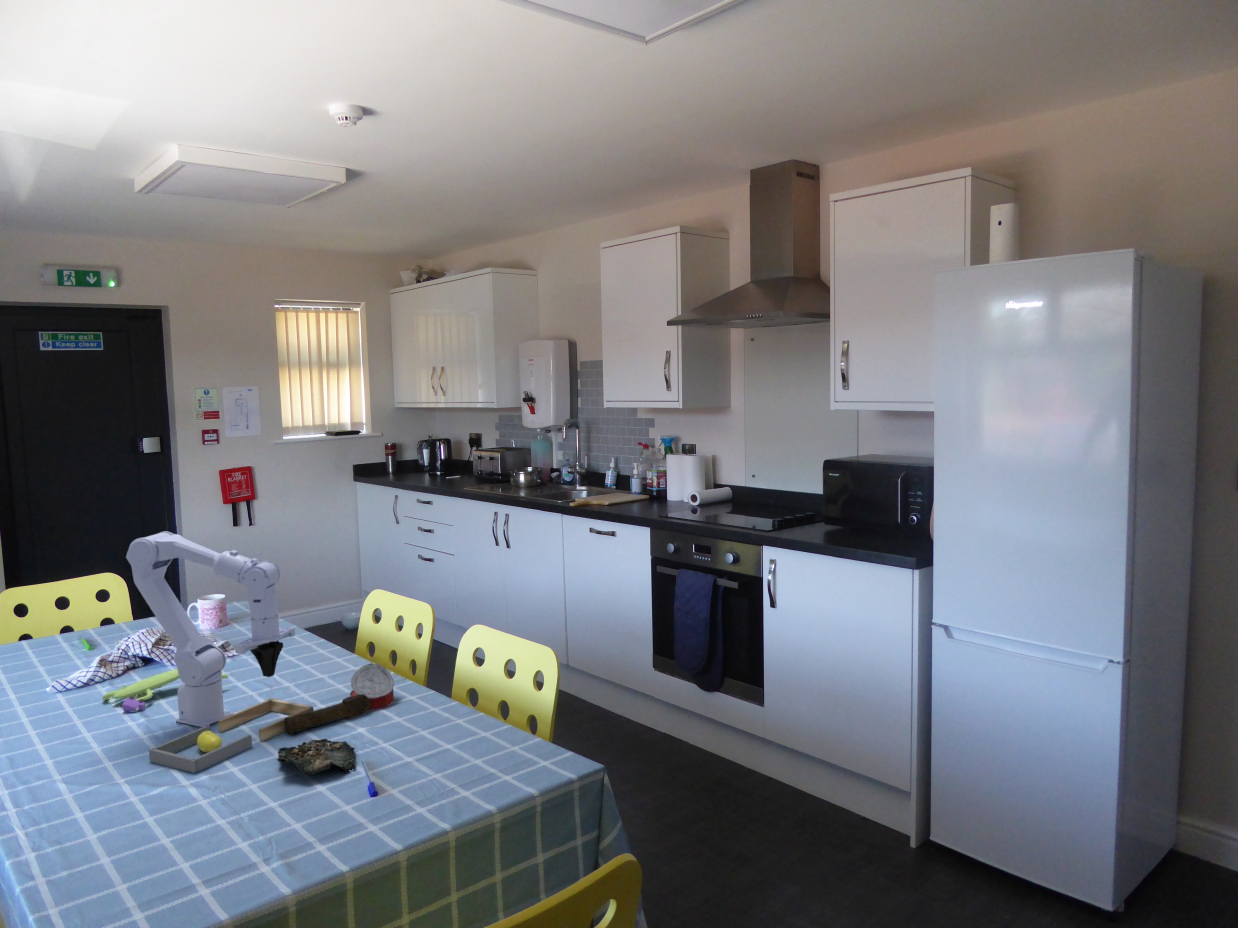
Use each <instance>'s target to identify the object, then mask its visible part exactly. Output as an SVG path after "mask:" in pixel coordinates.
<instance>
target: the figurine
mask: <svg viewBox="0 0 1238 928" xmlns="http://www.w3.org/2000/svg"><path fill="white" fill-rule="evenodd" d="M228 678H229V675H228V673H222V675H221V679H222V680H223V679H228ZM178 679H180V677H179V675H178V668H177V669H173V670H168V671H165V672H162V673H159V674H155V675H152V676H149V677H147V678H145V679H141V680H139V681H138V682H134V683H133V684H131V685H128V686H126V685H123V686H122V687H121V688H120V689H118V690H112V691H109V692H107V693H105V694H104V695H103V696H102V700H103V701H109V700H110V699H109V698H111V697H113V696H114V697H113V698H111V699H115V700H119V699H125V700H124V701H123V703H122V704H121V705H122V711H123V712H126V711H137V712H139V711H144V710H143V709H145V710H146V702H145V701H146V700H149V699H151V698H152V697H153V696H154V695H153V691H155V690H156V691H158V692H162V690H160V689H161V688H162V687H164V686H166V685H168V684H171V683H173V682H175V681H177V680H178ZM108 699H109V700H108ZM138 710H139V711H138Z"/></svg>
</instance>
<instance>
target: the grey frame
mask: <svg viewBox="0 0 1238 928" xmlns="http://www.w3.org/2000/svg"><path fill="white" fill-rule="evenodd" d="M205 731H211V726H210V725H207V726H204V727H199V728H198V729H196V730H193V731H191V732H189V733H185V734H183V735H181V736H179V737H175V738H173V739H171V740H169V741H167V742H165V743H162V744H160V745H156V746H154V747H153V748H150V749H148V756H149V762H150V763H153V764H157V765H161V766H165V767H167V768H172V769H176V770H180V771H183V772H188V773H190V774H197V773H199V772H202V771H203V770H205V769H209V767H212V766H214V765H216V764H218V763H220V762H223V761H224V760H227V759H229V758H231V757H234V756H235V755H237V754H239V753H241V752H244V751H246V750H248V749H250V748H252V747H253V743H252V742H253V740H252V734H245V735H244V736H242V737H239V738H237V739H235V740H233V741H230V742H229V743H226V744H225V745H221V747H220V748H217V749H215V750H213V751H211V752H208V753H206V752H205V753H204V754H202V755H200V756H198V757H197V756H196V757H195V758H194V757H189V756H185V755H183V754H182V755H181V754H177V753H178V752H180V751H182V750H184V749H186V748H188V747H189V748H190V747H192V746H194V745H196V744H197V739H198V736H199V735H200V734H201V733H203V732H205Z"/></svg>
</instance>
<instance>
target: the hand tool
mask: <svg viewBox="0 0 1238 928" xmlns="http://www.w3.org/2000/svg"><path fill="white" fill-rule="evenodd" d="M369 711H372V710H371V703H370V701H369V699H368V697H367V696H366V695H364V694H359V695H356V696H351V697H350V696H347V697H345V698H343V699H342V701H341V702H340V703H337V704H334V705H330V706H327V707H323V708H320V709H316V710H314V711H313V712H307V713H304V714H300V715H297V716H294V717H288V716H285V717H284V718H283V719H284V725H285V731H284V732H285V734H287V736H289V737H290V736H292V735H293V734H299V733H300V732H302V731H305V730H308V729H312V728H314V727H318V726H322V725H324V724H328V723H331V722H334V721H337V720H340V719H346V720H349V719H350V720H351V719H354V718H356V717H357V718H358V717H360V716H363V715H364V714H365V713H368V712H369Z"/></svg>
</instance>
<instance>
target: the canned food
mask: <svg viewBox="0 0 1238 928" xmlns="http://www.w3.org/2000/svg"><path fill="white" fill-rule="evenodd" d="M350 687H351V689H352V690H351V691H350V693H349V697H351V696H356V695H359V694H364V695H366V696H367V697H368V699H369V701H370V703H371V710H370V711H376V709H377V710H380V708H381V709H383V707H384V708H386V706H387V707H389V706H391V705H392V704H393V703H394V702H393V701H395V697H394V695H395V694H394V687H395V679H394V678H393V675H392V674H391V672H389V671H388V669H387V668H386V667H385V666H383V665H381V664H380V663H373V662H371V663H370V662H369V663H367V664H365V665H362V666H361V667H359V669H357V670H355V672H354V674H353V675H352V677H351V682H350ZM392 702H393V703H392ZM391 703H392V704H391ZM388 705H389V706H388Z"/></svg>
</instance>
